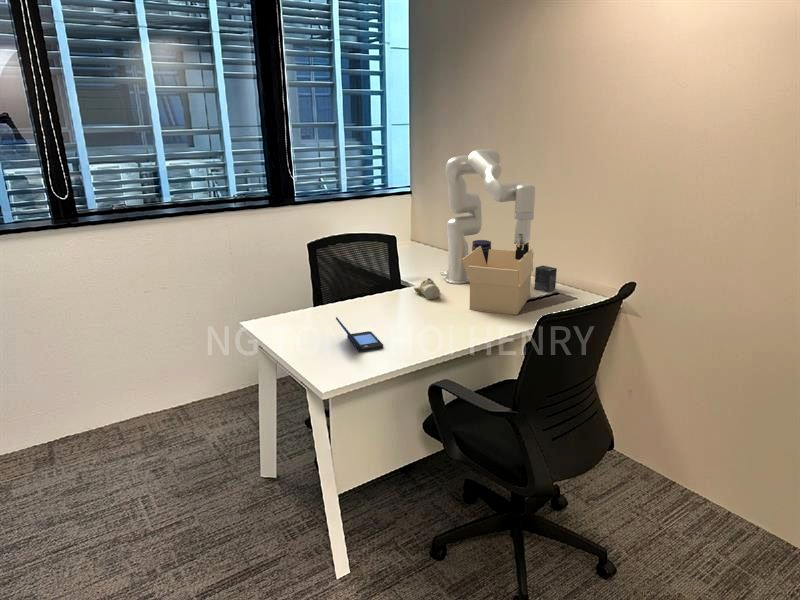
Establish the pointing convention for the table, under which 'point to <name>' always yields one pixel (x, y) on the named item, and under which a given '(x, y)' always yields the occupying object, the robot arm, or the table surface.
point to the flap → (525, 266)
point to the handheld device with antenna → (363, 340)
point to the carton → (496, 282)
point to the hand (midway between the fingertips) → (521, 256)
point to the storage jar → (484, 245)
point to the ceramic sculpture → (428, 289)
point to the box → (545, 278)
